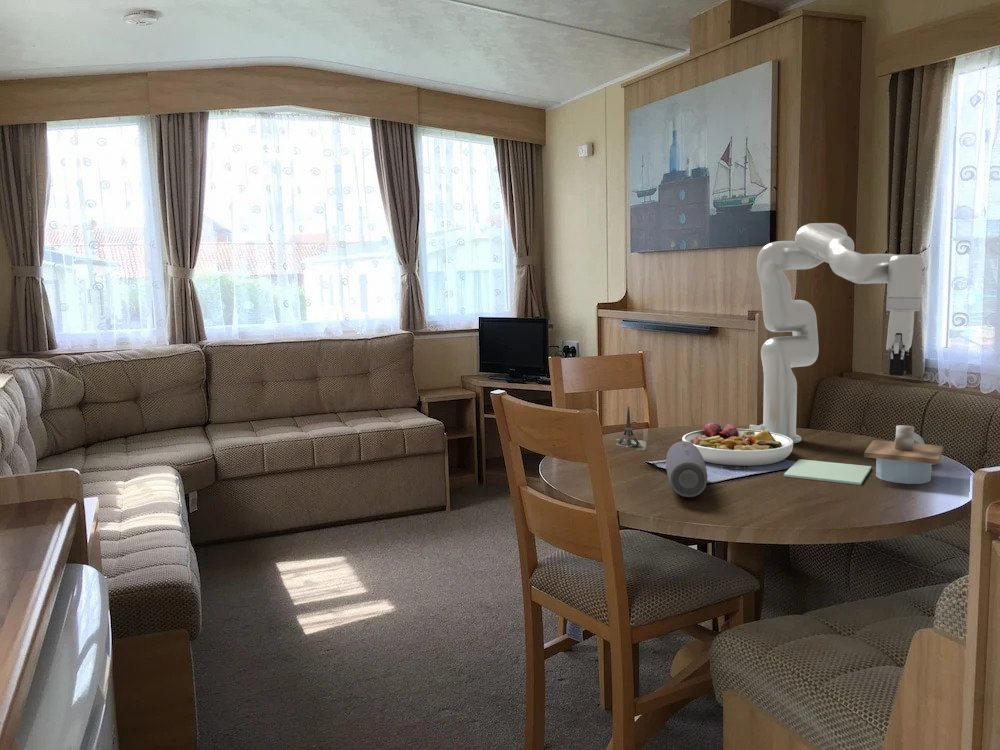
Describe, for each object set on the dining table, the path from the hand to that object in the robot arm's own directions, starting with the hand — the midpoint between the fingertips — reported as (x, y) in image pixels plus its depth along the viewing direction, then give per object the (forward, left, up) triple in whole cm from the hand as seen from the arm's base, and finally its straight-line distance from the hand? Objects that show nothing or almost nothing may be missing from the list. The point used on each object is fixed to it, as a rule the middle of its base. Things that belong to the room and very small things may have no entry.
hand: (899, 372), depth 201 cm
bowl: (-41, +1, -26) cm, 48 cm away
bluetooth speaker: (-42, -40, -26) cm, 63 cm away
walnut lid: (+2, -5, -20) cm, 20 cm away
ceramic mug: (+3, +13, -26) cm, 29 cm away
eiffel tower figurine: (-73, 0, -26) cm, 77 cm away
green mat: (-15, -9, -26) cm, 31 cm away
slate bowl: (+2, -6, -26) cm, 26 cm away
